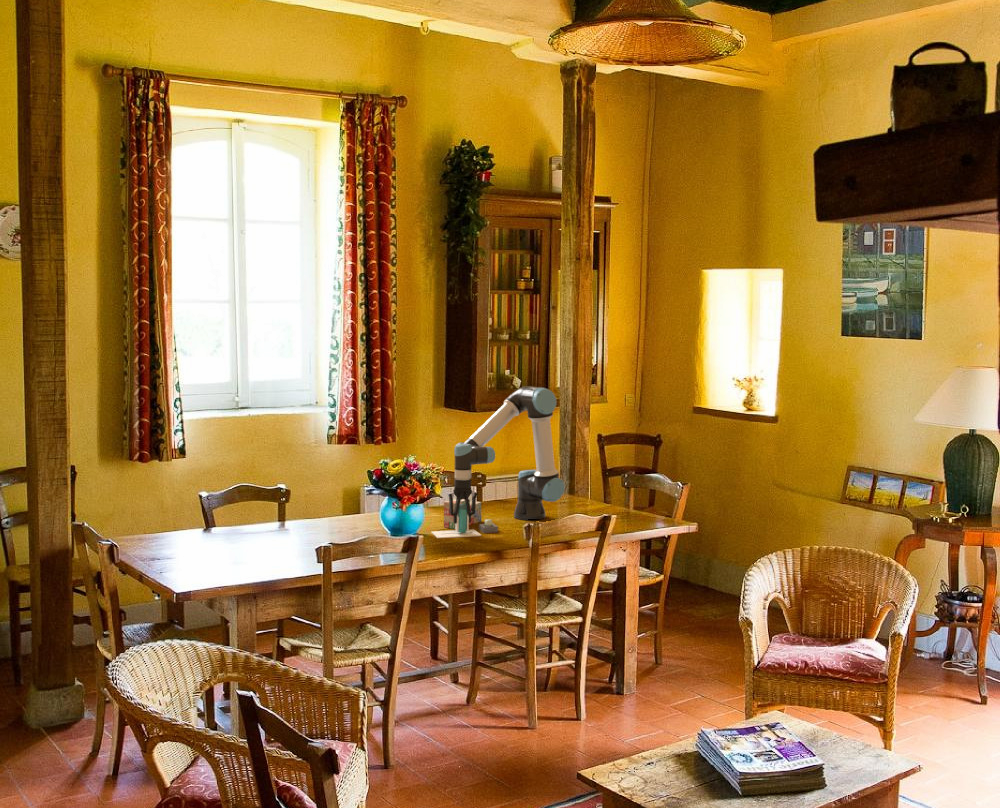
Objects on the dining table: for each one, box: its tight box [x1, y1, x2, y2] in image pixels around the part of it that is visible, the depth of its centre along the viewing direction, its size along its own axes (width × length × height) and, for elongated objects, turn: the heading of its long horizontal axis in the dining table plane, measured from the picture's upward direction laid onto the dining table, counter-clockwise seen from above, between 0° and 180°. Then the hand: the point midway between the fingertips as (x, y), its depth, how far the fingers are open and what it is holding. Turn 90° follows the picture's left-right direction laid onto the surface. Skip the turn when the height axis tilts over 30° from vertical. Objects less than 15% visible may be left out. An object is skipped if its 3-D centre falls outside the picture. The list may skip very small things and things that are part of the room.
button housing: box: [478, 523, 499, 534], centre depth 503 cm, size 7×7×2 cm
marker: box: [458, 504, 467, 533], centre depth 496 cm, size 4×4×12 cm
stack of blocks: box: [443, 498, 482, 530], centre depth 516 cm, size 21×6×12 cm, turn 145°
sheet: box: [430, 528, 482, 539], centre depth 496 cm, size 20×12×1 cm, turn 107°
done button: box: [484, 518, 493, 527], centre depth 503 cm, size 3×3×4 cm
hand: (462, 530), depth 497 cm, fingers closed on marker, 4 cm apart
